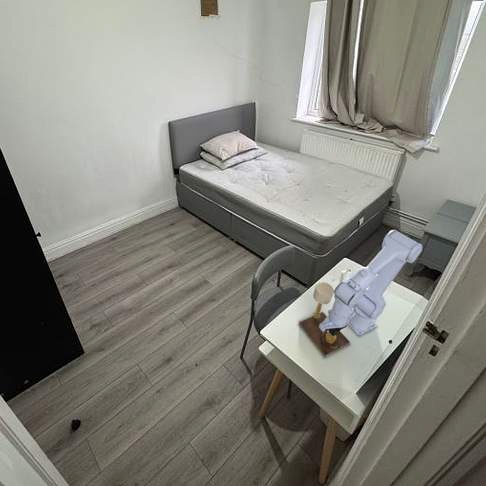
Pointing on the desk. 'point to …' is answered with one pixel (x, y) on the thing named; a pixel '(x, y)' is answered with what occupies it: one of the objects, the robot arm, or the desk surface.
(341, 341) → the lamp base
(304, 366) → the desk surface
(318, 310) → the lamp
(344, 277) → the perfume bottle
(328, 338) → the lamp switch
